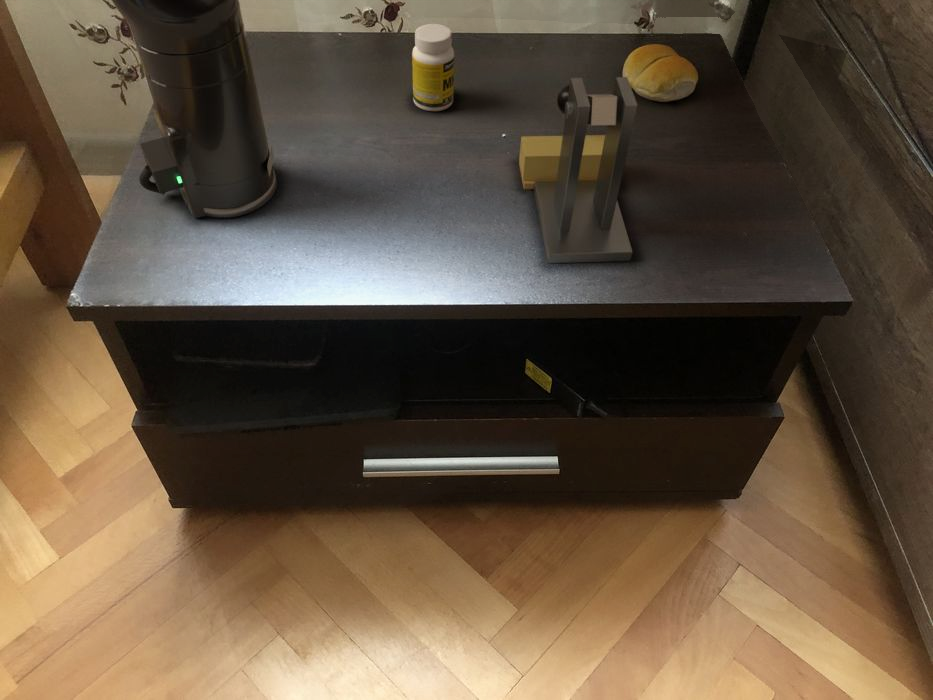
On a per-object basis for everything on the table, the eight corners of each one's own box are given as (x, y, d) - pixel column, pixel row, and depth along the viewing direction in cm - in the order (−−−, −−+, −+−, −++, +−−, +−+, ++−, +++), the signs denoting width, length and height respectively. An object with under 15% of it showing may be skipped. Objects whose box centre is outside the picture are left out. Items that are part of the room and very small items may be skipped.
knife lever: (554, 115, 81) (555, 82, 80) (584, 114, 81) (585, 82, 80) (584, 130, 67) (586, 91, 66) (621, 130, 67) (623, 91, 66)
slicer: (533, 190, 81) (548, 57, 70) (609, 188, 82) (636, 56, 70) (547, 263, 74) (566, 129, 63) (630, 261, 74) (664, 128, 63)
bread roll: (661, 58, 99) (668, 28, 95) (705, 94, 93) (714, 63, 90) (606, 72, 96) (612, 41, 93) (648, 110, 91) (655, 79, 88)
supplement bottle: (448, 115, 89) (449, 46, 83) (408, 109, 90) (406, 40, 83) (457, 92, 92) (458, 24, 86) (418, 87, 93) (417, 19, 86)
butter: (518, 163, 84) (520, 133, 81) (611, 161, 84) (617, 131, 82) (522, 189, 81) (525, 159, 78) (619, 187, 82) (625, 157, 79)
